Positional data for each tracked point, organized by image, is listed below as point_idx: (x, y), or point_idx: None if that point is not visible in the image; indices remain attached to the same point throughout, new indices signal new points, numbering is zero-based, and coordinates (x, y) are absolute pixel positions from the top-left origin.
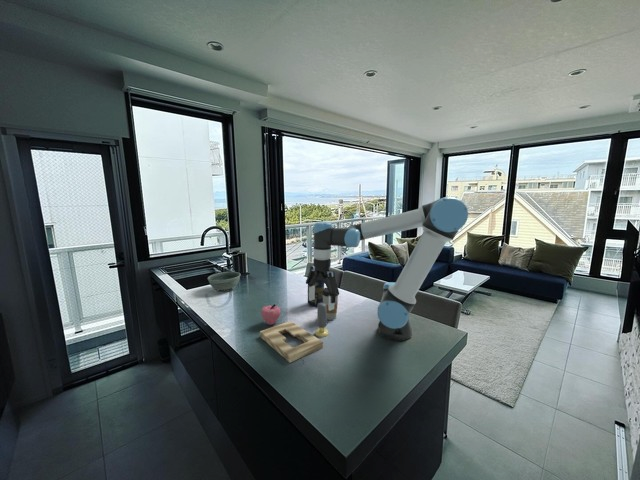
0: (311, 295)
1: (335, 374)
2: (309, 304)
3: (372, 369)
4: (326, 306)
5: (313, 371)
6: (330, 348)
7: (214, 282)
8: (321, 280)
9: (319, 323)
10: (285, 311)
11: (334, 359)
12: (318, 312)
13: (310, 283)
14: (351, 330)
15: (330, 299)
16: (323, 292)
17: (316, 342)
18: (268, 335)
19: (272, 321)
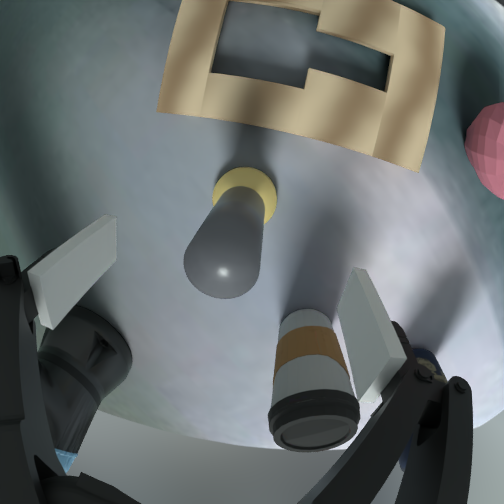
0: (358, 305)
1: (60, 52)
2: (423, 349)
3: (17, 148)
4: (311, 347)
5: (111, 7)
6: (141, 131)
7: None
8: (406, 456)
9: (234, 191)
10: (480, 260)
11: (94, 94)
12: (234, 210)
13: (402, 398)
14: (171, 291)
15: (51, 260)
16: (344, 405)
17: (173, 87)
18: (394, 11)
19: (471, 124)
